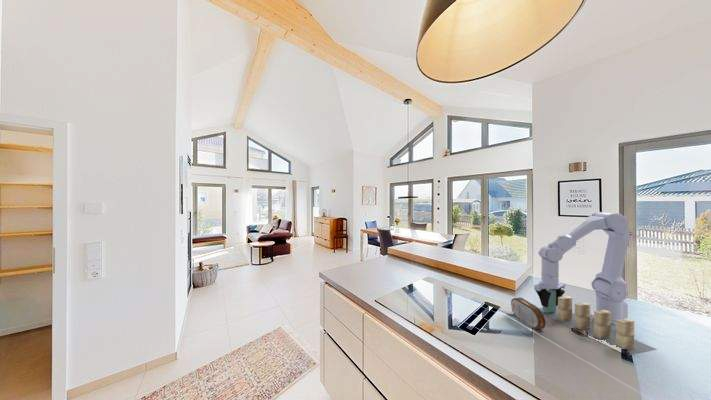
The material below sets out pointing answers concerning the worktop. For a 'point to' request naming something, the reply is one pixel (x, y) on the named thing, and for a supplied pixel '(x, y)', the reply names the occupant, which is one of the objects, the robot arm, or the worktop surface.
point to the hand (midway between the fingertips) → (549, 305)
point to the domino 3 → (582, 315)
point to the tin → (528, 313)
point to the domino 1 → (551, 302)
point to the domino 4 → (602, 324)
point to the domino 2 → (564, 308)
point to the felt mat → (611, 340)
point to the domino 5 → (625, 333)
